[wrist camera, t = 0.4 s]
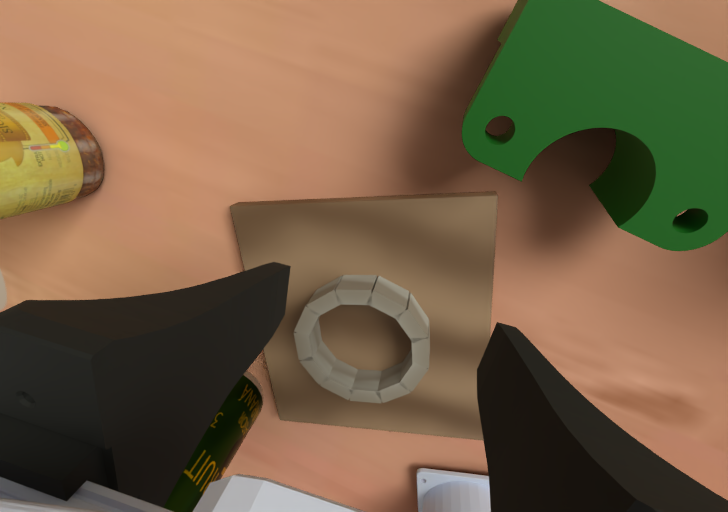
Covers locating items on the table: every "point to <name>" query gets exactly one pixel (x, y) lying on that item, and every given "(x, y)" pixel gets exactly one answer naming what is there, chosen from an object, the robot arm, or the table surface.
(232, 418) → the beer can
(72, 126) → the sauce bottle
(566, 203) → the table surface
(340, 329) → the collar board
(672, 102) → the clamp
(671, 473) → the robot arm
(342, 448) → the table surface
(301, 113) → the table surface
